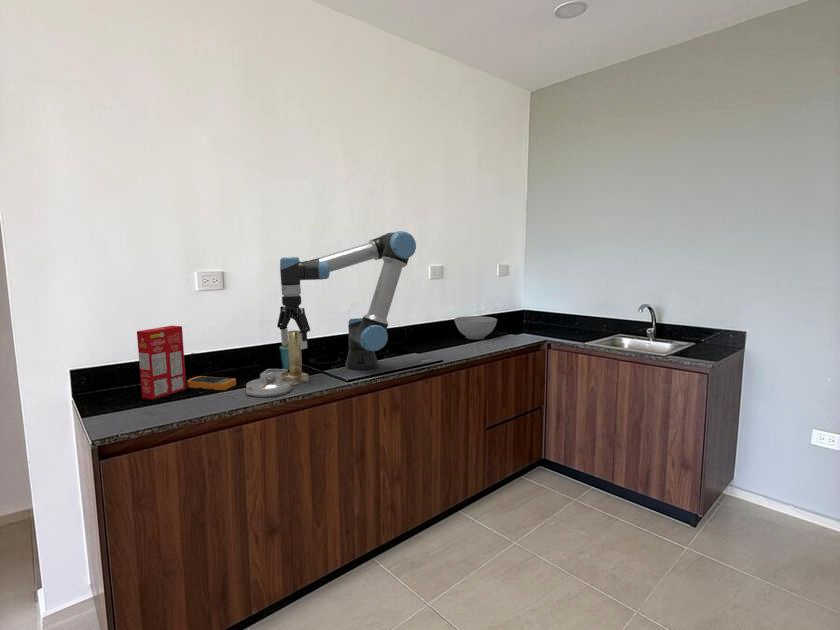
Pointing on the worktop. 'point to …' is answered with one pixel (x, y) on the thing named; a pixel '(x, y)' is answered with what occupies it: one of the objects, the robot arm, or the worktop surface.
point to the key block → (298, 378)
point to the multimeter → (211, 383)
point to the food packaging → (161, 361)
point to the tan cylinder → (294, 353)
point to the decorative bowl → (475, 326)
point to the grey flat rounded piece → (270, 384)
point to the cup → (285, 356)
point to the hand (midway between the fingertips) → (294, 346)
